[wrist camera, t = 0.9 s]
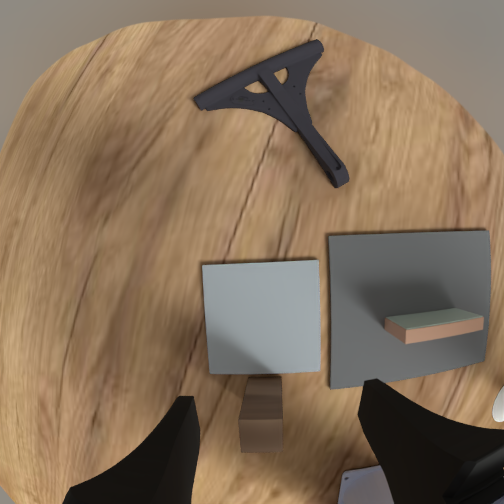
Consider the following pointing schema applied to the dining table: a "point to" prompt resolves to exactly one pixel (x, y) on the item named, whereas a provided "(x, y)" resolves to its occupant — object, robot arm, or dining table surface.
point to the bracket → (280, 100)
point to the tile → (433, 325)
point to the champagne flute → (499, 407)
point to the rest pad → (262, 317)
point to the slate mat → (404, 302)
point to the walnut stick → (262, 416)
